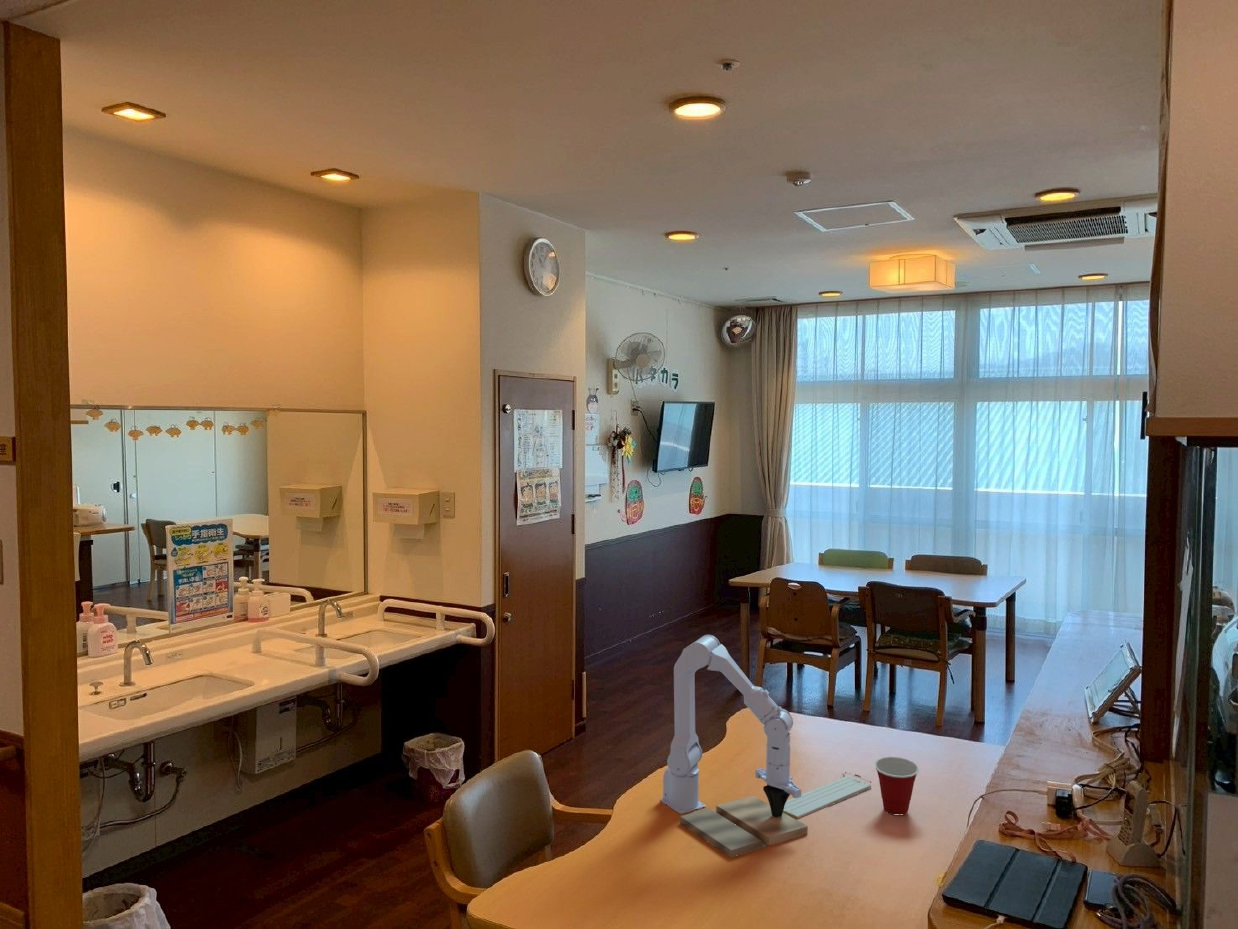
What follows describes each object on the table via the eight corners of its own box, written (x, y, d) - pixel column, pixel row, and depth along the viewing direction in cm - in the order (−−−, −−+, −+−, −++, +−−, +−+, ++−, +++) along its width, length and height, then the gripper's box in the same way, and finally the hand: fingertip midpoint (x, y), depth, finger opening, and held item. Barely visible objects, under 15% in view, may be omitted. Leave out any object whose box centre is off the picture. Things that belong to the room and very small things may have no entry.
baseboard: (767, 808, 231) (797, 822, 223) (767, 797, 231) (797, 811, 223) (840, 778, 250) (871, 790, 242) (840, 768, 250) (871, 780, 242)
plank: (716, 813, 226) (716, 805, 226) (753, 803, 232) (753, 795, 232) (768, 846, 209) (769, 837, 209) (807, 834, 215) (807, 826, 215)
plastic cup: (870, 816, 225) (871, 769, 224) (875, 799, 235) (876, 754, 234) (916, 824, 221) (917, 776, 220) (919, 806, 231) (920, 760, 230)
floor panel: (680, 824, 220) (680, 816, 220) (714, 814, 226) (714, 806, 226) (731, 858, 203) (731, 850, 203) (766, 847, 209) (766, 839, 209)
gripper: (811, 768, 216) (810, 823, 217) (770, 748, 228) (769, 801, 229) (789, 774, 212) (787, 830, 213) (749, 754, 224) (748, 807, 225)
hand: (777, 815), depth 221 cm, fingers closed, pressing on plank
